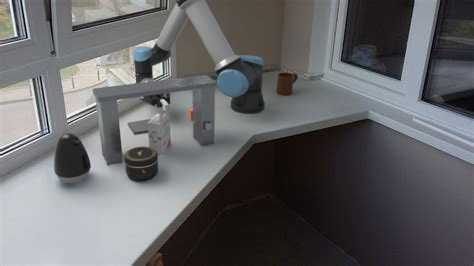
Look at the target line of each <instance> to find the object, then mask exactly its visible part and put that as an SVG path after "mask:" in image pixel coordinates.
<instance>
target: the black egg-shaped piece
mask: <svg viewBox="0 0 474 266" xmlns="http://www.w3.org/2000/svg"><path fill="white" fill-rule="evenodd" d="M53 156H54V159H53V170H54V174H55V175H56V176H57V179H59V180H60V181H61V182H63V183H66V184H71V185H73V184H78V183H81V182H83V181H84V180H86V179H87V177H88V176H89V174H90V170H91V167H92V166H91V160H90V157H89V154H88V152H87V150H86V147H85V146H84V144H83V142H82V140H81V139H80V137H78V136H77V135H76V134H74V133H71V132H66V133H63V134H61V136H60V137H59V139H58V140H57V143H56V145H55V149H54V155H53Z"/></svg>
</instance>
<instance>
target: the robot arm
mask: <svg viewBox="0 0 474 266" xmlns="http://www.w3.org/2000/svg"><path fill="white" fill-rule="evenodd" d="M172 1H174V2H175V5H174V6H173V8H172V9H171V10H172V11H171V12H170V14H169V16H168V19H166V22H165V24H164V26H163V27H162V30H161V31H160V34H159V35H160V36H158V38H157V39H156V42H155V43H154V45H153V47H149V46H146V45H145V46H143V45H141V46H137V47H135V48H134V49H133V63H134V72H135V73H134V74H135V75H134V77H136V83H143V82H151V81H155V80H154V74H153V70H154V69H153V67H154V66H157V65H159V64H162V63H164V62H166V61H167V60H170V58H171V57H172V49H173V47H174V45H175V43H176V42H177V40H178V39H179V38H178V37H179V36H180V35H181V32H182V31H183V29H184V27H185V25H186V23H187V21H188V20H190V21H191V24H192V25H193V27H194V29H195V31H196V32H197V34H198V36H199V38H200V39H201V41H202V43H203V45H204V47H205V48H206V51H207V52H208V53H209V56H210V57H211V59H212V61H213V62H214V64H215V68H214V72H215V74H216V76H217V81H216V82H217V87H218V89H219V92H220V93H222V94H223V95H224V96H227V97H230V98H231V100H230V109H231V110H232V111H234V112H237V113H242V114H257V113H260V112H263V111H264V110H265V105H266V104H265V103H266V102H265V99H264V96H263V92H262V91H263V90H262V88H263V72H264V71H263V70H264V60H263V58H262V57H260V56H256V55H248V54H244V55H243V54H239V55H237V54H235V53H234V51H233V49H232V47H231V46H230V43H229V42H228V40H227V38H226V36H225V34H224V33H223V31H222V29H221V26H220V25H219V24H218V22H217V20H216V18H215V15H214V14H213V13H212V11H211V9H210V7H209V5H208V3H207V2H206V0H172ZM137 74H138V75H137ZM139 98H140V101H144V102H145V103H146V104H148V105H151V106H153V107H155V106H156V107H157V108H161V109H162V110H163V111H164V110H166V109H167V107H168V109H169V110H170V104H171V93H164V94H157V95H150V96H142V97H139Z"/></svg>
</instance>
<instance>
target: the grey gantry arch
mask: <svg viewBox="0 0 474 266" xmlns="http://www.w3.org/2000/svg"><path fill="white" fill-rule="evenodd" d="M216 87H218V85H217V81H216V80H214V79H213V78H212V77H210V76H209V75H207V74H202V75H195V76H187V77H177V78H169V79H162V80H161V79H160V80H154V81H151V82H143V83H130V84H129V83H126V84H120V85H112V86H105V87H104V86H102V87H96V88H95V87H94V88H92V93H93V95H94V97H95V103H96V104H95V105H96V112H97V120H98V129H99V130H98V131H99V136H100V146H101V154H102V157H103V159H104V161H105V163H106V165H107V166H112V165H117V164H123V163H124V158H123V157H124V156H123V146H122V136H121V128H120V118H119V117H120V116H119V108H118V107H119V106H118V101H120V100H125V99H135V98H140V97H142V96H150V95H157V94H164V93H170V94H171V93H177V92H184V91H192V93H191V94H192V107H193V121H192V137H193V139H194V140H195V141H196V142H197V144H199V145H200V146H201V147H206V146H211V145H215V136H216V135H215V123H216V122H215V121H216V120H215V118H216V115H215V114H216V112H215V110H216V108H215V107H216V102H215V101H216V98H215V97H216V96H215V95H216V90H215V89H216ZM203 122H209V123H210V124H211V125H212V129H210V130H207V129H206V128H205V127H204V126H203Z"/></svg>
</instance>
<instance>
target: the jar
mask: <svg viewBox="0 0 474 266" xmlns="http://www.w3.org/2000/svg"><path fill="white" fill-rule="evenodd" d="M158 156H159V155H157V151H156V150H155V149H153V148H150V147H149V146H135V147H131V148H129V149H128V150H126V152H125V153H124V156H123V157H124V158H123V163H124V166H125V174H126V176H127V178H128V179H130V180H131V181H133V182H135V183H137V182H138V183H145V182H149V181H151V180H154V179H155V178H156V177H157V174H158V172H159V171H158V170H159V160H158V159H159V157H158Z"/></svg>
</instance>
